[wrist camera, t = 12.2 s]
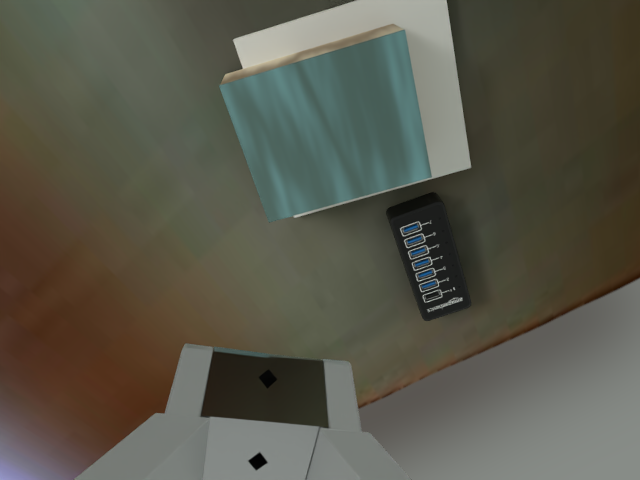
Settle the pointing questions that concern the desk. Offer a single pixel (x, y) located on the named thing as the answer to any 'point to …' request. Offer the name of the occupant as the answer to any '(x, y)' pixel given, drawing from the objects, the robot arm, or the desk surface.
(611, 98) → the desk surface
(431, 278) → the multiport hub
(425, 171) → the beige rectangular block
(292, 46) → the mat
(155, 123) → the desk surface
